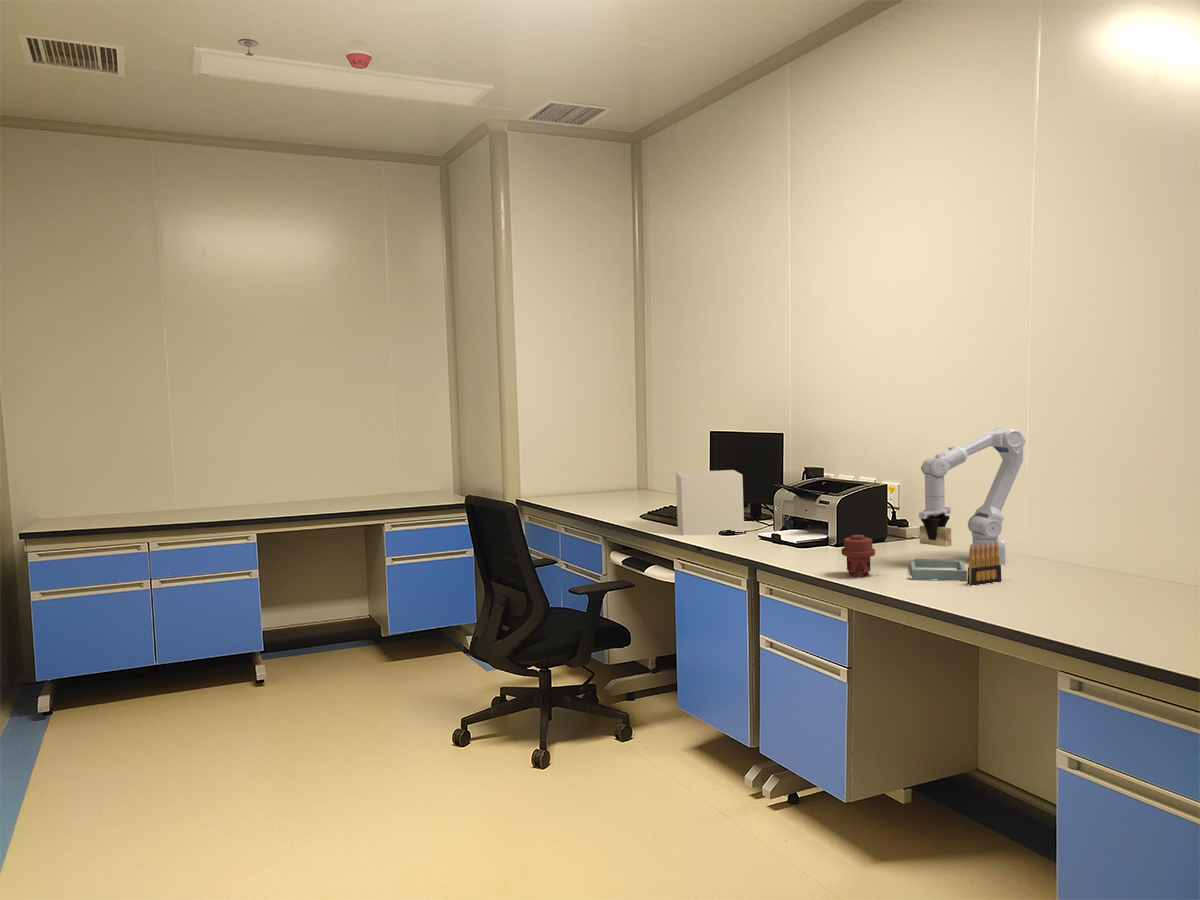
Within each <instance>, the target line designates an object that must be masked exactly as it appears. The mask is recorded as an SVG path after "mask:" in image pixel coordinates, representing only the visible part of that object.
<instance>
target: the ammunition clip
mask: <svg viewBox="0 0 1200 900" xmlns="http://www.w3.org/2000/svg"><path fill="white" fill-rule="evenodd" d="M968 555H969V557H968V567H967V581H966V583H967V585H968V584H969V585H968V586H971V585H975V586H981V585H980V584H982V585H987V584H986V583H990V584H994V583H993V582H998V583H1002V582H1001V581H1002V564H1000V555H999V546H998V542H997V541H996V542H995V546H994V547H993V543H992V542H991V543H990V547H988V543H987V542H986V543H985V547H983V544H982V543H981V544H980V549H979V547H978V544H977V543H976V545H975V551H974V548H973V543H971V544H970V545H969V553H968Z"/></svg>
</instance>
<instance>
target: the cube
mask: <svg viewBox="0 0 1200 900" xmlns="http://www.w3.org/2000/svg"><path fill="white" fill-rule="evenodd" d="M743 481H744V479H743V474H742V473H740V472H738V471H737V470H735V469H725V470H723V469H722V470H700V471H677V472H675V488H676V490H675V491H676V492H675V493H676V515H677V516H676V517H677V519H676V520H677V529H678V528H679V529H678V530H679V531H680V533H681V535H682V536H684V535H687V536H702V535H703V536H704V535H705V536H706V535H710V534H711V535H718V534H717V533H719V532H720V531H723V530H731V531H735V532H743V533H742V534H745V516H744V515H745V513H744V512H745V511H744V484H743V483H744V482H743ZM684 537H685V536H684Z"/></svg>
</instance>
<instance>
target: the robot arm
mask: <svg viewBox="0 0 1200 900" xmlns="http://www.w3.org/2000/svg"><path fill="white" fill-rule="evenodd" d="M1025 443H1026V439H1025V437H1024V434H1023V433H1022V431H1021V430H1019V429H1017V428H1001V427H995V428H993V429H991V430H988V431H986V432H985V433H983V434H981V435H980V436H978V437H976V438H975V439H973V440H972V441H970V442H968V443H966V444H964V445H963V446H959V445H950V446H948V449H947V450H945V451H943V452H940V453H938V452H937V453H936V454H935V456H934V457H928V458H925V459H924V461H923V462H922V465H921V466H920V470H921V472H922V473H923V475H924V502H925V504H924V505H925V506H924V509H923V510H921V511H919V512H918V519H920V521H921V522H922V524H923V525H924V526H925V528H926V531H927V535H928V539H929V540H936V536H937V527H946V525H947V523H948V522H949V520H950V515H951V512H952V510H951V509H952V508H951V507H947V506H945V503H946V502H945V501H946V500H945V497H946V496H945V476H946V475H947V473H948V471H950V470H952V469H953V468H956V467H958V466H960V465H961V464H964V463H965V462H966V461H967V458H968V457H969V456H971V455H973V454H976V453H978V452H981V451H982V450H984V449H986V448H989V447H993V448H994V449H995V451H996V452H997V453H998V454H999V456H1000V458H1001V462H1000V466H999V467H998V470H997V472H996V475H995V476H994V479H993V481H992V484H991V485H990V488H989V491H988V494H987V495H986V497H985V500H984V502H983V504H982V505H981V506H980V507H978V508H977V509H976V510H975V512H974V514H973V515H972V516H971V517H969V519H968V521H967V528H968V530H969V531H970V532H971V536H972V543H971V544H972V545H973V548H974V551H975V545H976V543H977V544H978V547H979V549H980V544H981V543H982V544H983V547H985V543H986V542H987V543H988V547H990V543H991V542H992V543H993V547H994V546H995V542H996V541H997V542H998V546H999V555H1000V565H1001V566H1002V565H1003V566H1004V567H1005V568H1006V567H1007V566H1006V562H1007V561H1006V541H1005V538H1004V537H1000V536H999V535H1000V534H1001V533H1002V531H1003V530H1002V529H1003V521H1004V515H1003V514H1002V510H1003V507H1004V505H1005V503H1006V500H1007V498H1008V496H1009V493H1010V491H1011V489H1012V487H1013V485H1014V482H1015V480H1016V478H1017V475H1018V473H1019V471H1020V468H1021V466H1022V463H1023V460H1024V446H1025ZM947 514H948V515H947Z"/></svg>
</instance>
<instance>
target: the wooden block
mask: <svg viewBox="0 0 1200 900" xmlns="http://www.w3.org/2000/svg"><path fill="white" fill-rule="evenodd" d="M919 544H921V545H929V546H937V547H945V548H947V547H952V527H946V526H945V527H937V536H936V540H929V539H928V535H927V531H926V528H925V526H924V524H923V525H920V526H919Z"/></svg>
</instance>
